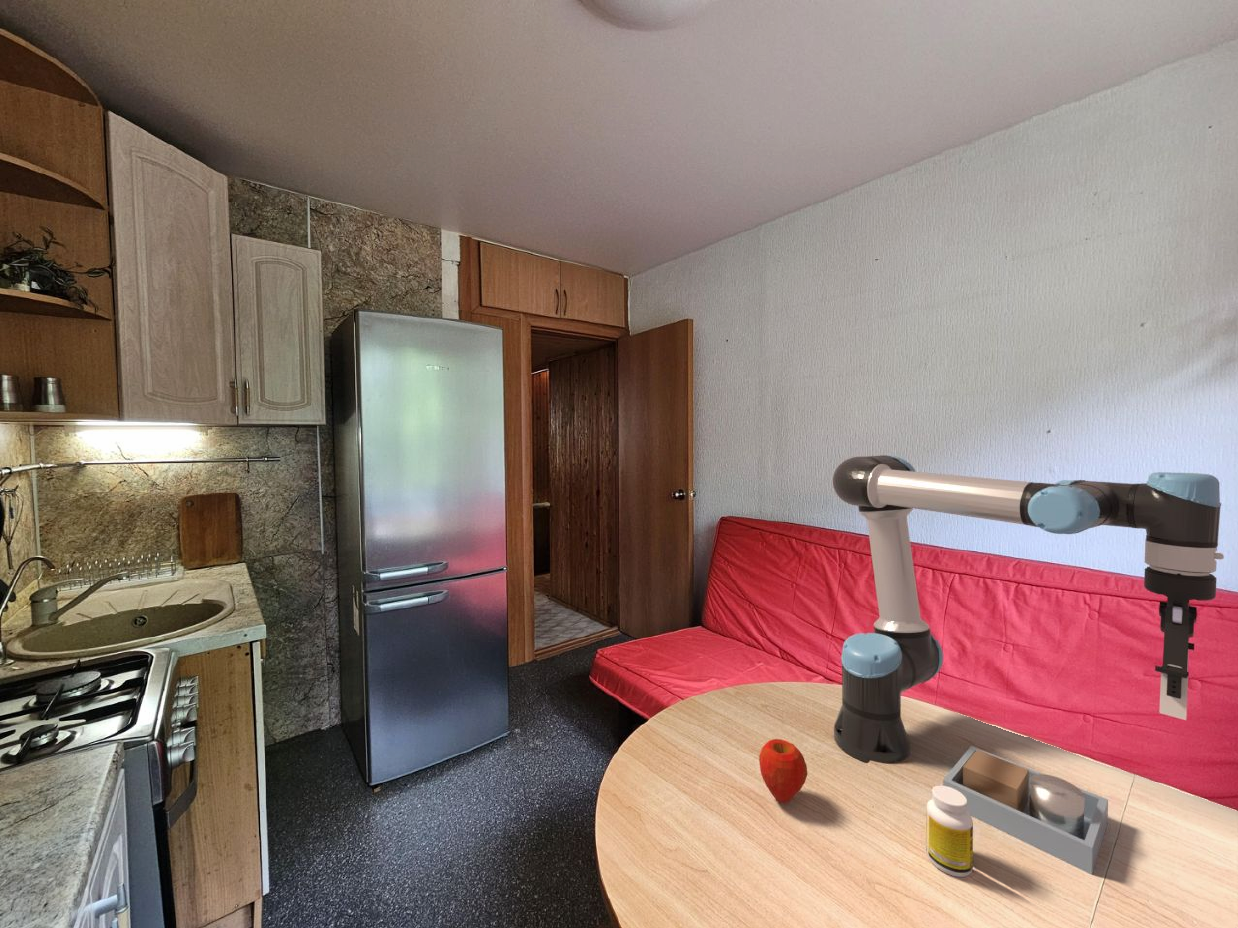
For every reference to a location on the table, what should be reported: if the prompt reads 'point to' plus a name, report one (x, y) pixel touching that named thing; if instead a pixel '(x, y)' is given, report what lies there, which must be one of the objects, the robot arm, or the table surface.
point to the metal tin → (1057, 804)
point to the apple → (782, 769)
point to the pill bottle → (949, 832)
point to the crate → (1032, 828)
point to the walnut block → (997, 779)
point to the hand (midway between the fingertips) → (1173, 700)
